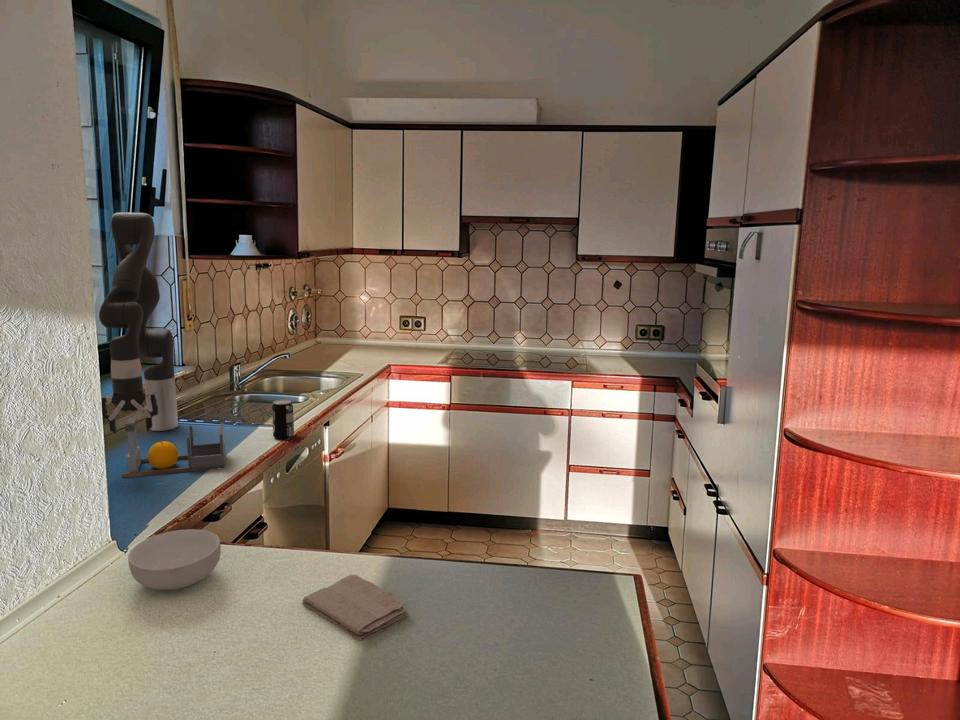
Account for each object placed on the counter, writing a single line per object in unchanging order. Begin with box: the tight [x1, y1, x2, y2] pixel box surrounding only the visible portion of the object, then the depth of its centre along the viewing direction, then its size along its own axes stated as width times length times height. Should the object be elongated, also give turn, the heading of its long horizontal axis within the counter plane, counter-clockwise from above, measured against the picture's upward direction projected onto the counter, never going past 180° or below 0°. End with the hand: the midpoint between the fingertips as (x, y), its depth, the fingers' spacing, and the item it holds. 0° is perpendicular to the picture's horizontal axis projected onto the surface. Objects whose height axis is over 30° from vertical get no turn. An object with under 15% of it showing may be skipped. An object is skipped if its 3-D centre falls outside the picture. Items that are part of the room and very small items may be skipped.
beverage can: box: [271, 398, 295, 441], centre depth 231 cm, size 7×7×12 cm
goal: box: [186, 422, 226, 472], centre depth 207 cm, size 12×9×10 cm
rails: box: [121, 454, 190, 478], centre depth 203 cm, size 12×17×1 cm
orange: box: [147, 440, 179, 470], centre depth 203 cm, size 8×8×8 cm
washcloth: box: [301, 574, 409, 642], centre depth 131 cm, size 12×18×3 cm, turn 49°
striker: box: [124, 417, 142, 473], centre depth 200 cm, size 9×2×14 cm, turn 18°
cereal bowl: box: [127, 528, 222, 591], centre depth 141 cm, size 17×17×7 cm
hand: (131, 431), depth 199 cm, fingers open, 8 cm apart
